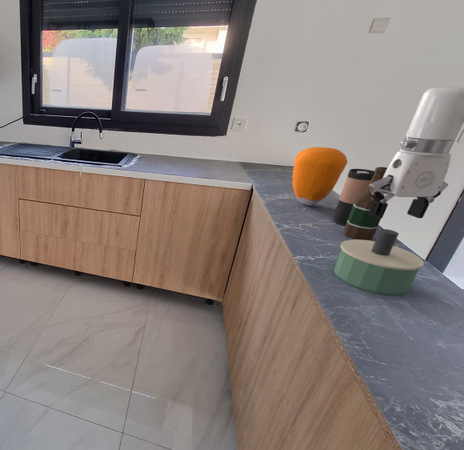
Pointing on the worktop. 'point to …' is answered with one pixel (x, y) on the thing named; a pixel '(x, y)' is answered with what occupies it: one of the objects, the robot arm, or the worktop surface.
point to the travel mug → (351, 193)
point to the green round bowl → (373, 276)
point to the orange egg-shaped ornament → (316, 173)
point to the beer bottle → (363, 213)
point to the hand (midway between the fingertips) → (394, 216)
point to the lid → (383, 252)
